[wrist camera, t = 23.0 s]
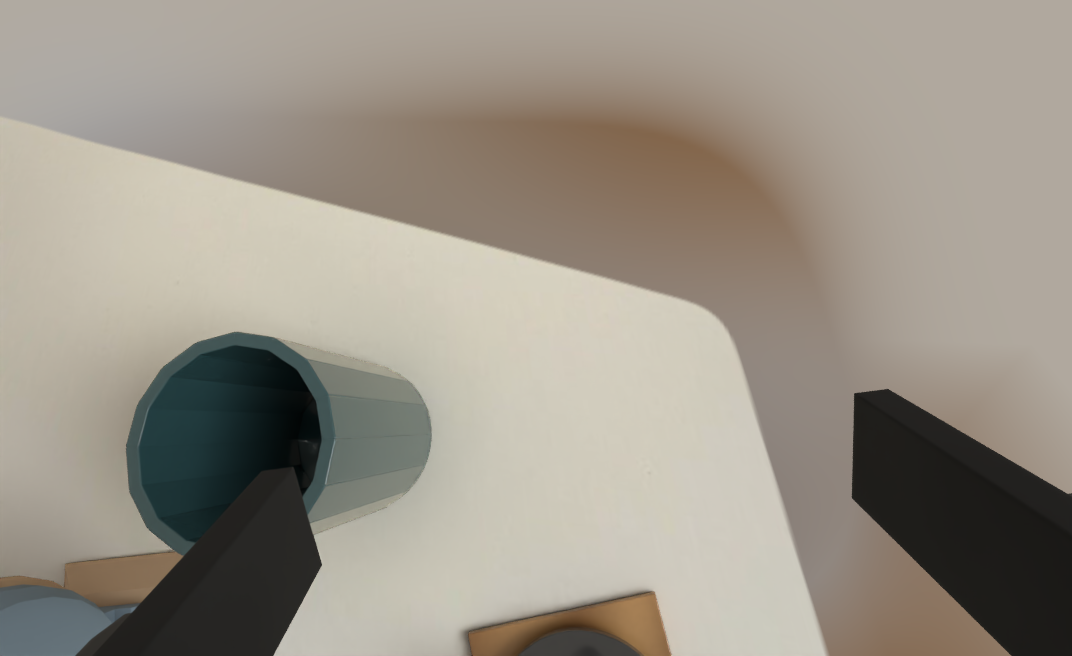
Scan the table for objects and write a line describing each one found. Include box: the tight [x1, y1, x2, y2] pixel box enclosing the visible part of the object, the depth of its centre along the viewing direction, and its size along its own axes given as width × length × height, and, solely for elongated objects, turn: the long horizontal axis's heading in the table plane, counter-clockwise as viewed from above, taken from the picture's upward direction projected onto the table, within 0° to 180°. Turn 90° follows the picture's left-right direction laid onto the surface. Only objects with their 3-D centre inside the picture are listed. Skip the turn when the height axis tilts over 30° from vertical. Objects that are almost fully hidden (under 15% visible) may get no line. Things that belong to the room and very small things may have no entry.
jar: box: [126, 332, 431, 556], centre depth 28 cm, size 9×9×12 cm
